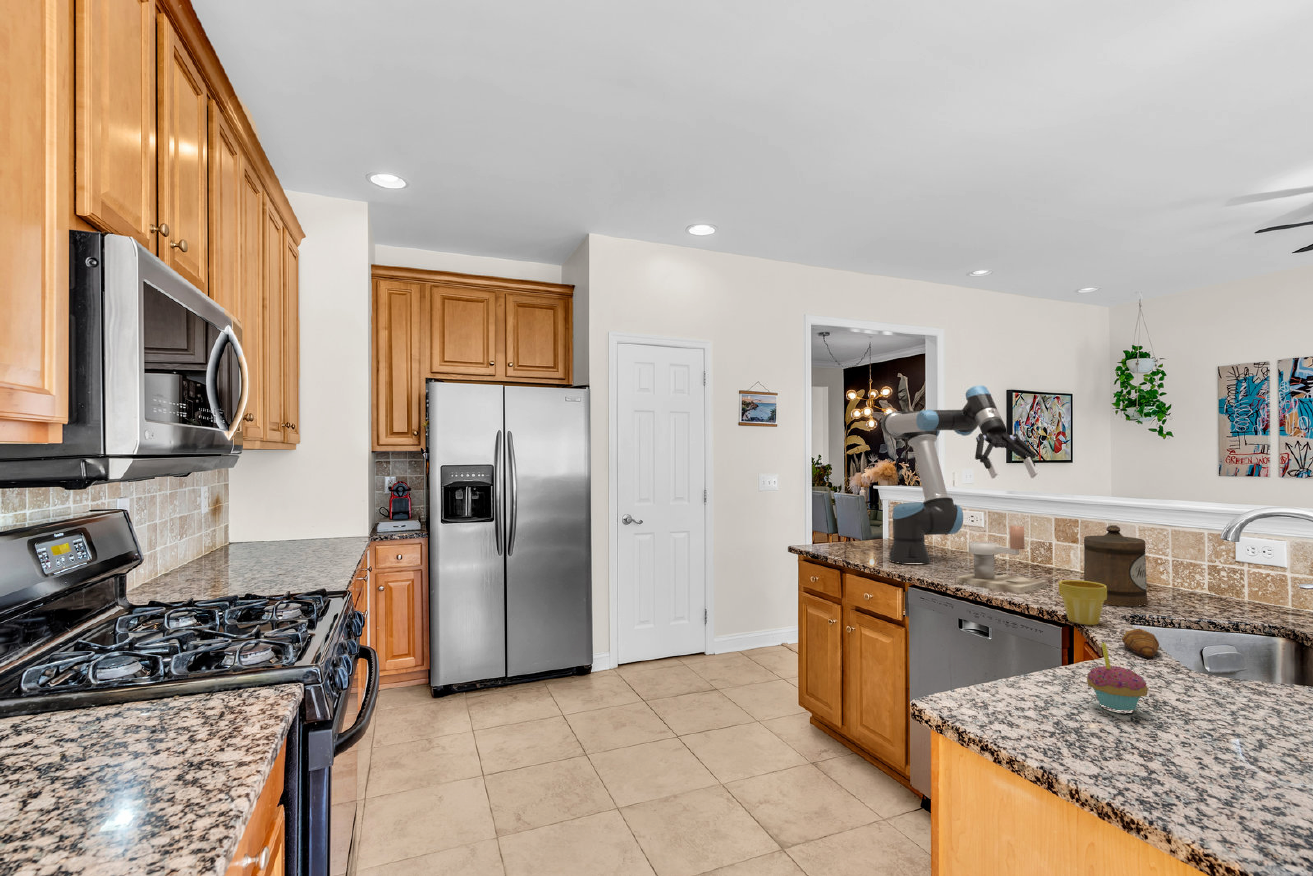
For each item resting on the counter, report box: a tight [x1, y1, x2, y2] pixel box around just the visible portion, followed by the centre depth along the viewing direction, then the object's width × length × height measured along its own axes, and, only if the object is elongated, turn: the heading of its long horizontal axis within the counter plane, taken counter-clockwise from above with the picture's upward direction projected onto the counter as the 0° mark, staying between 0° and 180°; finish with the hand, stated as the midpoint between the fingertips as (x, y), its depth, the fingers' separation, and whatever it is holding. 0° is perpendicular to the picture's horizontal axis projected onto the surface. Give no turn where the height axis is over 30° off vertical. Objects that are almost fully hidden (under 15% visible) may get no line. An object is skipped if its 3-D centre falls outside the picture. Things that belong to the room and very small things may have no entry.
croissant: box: [1121, 628, 1160, 659], centre depth 141 cm, size 14×7×5 cm, turn 156°
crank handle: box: [968, 525, 1026, 556], centre depth 207 cm, size 18×9×10 cm, turn 33°
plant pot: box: [1058, 579, 1107, 626], centre depth 164 cm, size 10×10×10 cm
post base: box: [955, 554, 1048, 595], centre depth 209 cm, size 21×16×10 cm
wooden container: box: [1083, 524, 1148, 607], centre depth 185 cm, size 15×15×22 cm
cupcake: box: [1086, 638, 1149, 711], centre depth 110 cm, size 9×8×12 cm
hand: (1014, 476), depth 207 cm, fingers open, 13 cm apart
